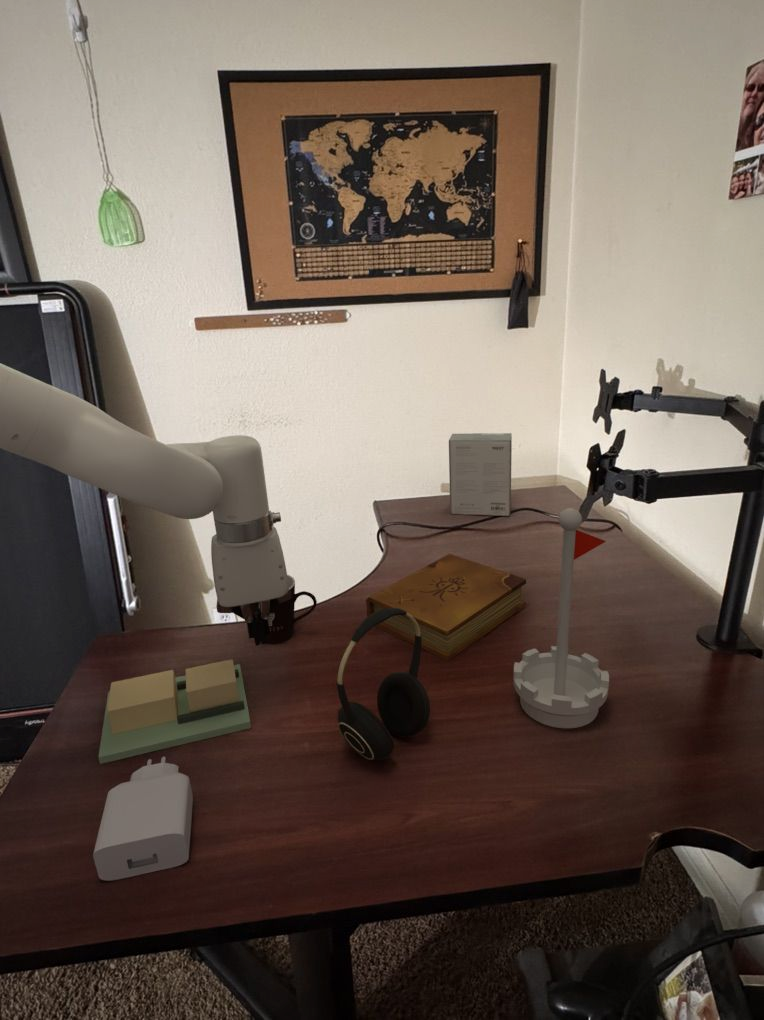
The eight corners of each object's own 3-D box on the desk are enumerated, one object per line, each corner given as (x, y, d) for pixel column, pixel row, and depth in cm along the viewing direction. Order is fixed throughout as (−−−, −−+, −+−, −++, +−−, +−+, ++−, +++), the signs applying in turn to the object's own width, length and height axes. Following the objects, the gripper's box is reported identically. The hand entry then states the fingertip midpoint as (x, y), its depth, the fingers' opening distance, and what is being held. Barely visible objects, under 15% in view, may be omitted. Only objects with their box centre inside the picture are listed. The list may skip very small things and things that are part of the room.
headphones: (445, 729, 87) (444, 601, 80) (368, 790, 77) (359, 651, 70) (400, 702, 93) (395, 581, 86) (323, 756, 83) (310, 624, 76)
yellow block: (190, 715, 90) (186, 692, 89) (189, 690, 96) (185, 668, 94) (239, 703, 92) (236, 681, 91) (236, 680, 98) (232, 658, 96)
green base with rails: (99, 764, 84) (91, 732, 82) (109, 697, 97) (102, 669, 95) (251, 728, 89) (246, 697, 87) (240, 669, 102) (236, 642, 101)
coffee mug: (241, 638, 111) (234, 588, 108) (275, 617, 118) (269, 569, 114) (289, 658, 105) (283, 605, 101) (323, 634, 111) (318, 584, 108)
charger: (196, 766, 82) (189, 864, 69) (122, 781, 81) (100, 883, 67) (191, 737, 81) (183, 831, 67) (115, 751, 79) (91, 850, 65)
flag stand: (532, 739, 84) (542, 533, 74) (500, 681, 96) (504, 497, 86) (623, 726, 86) (646, 522, 75) (581, 670, 98) (595, 488, 87)
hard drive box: (511, 506, 166) (513, 433, 159) (509, 517, 159) (512, 440, 152) (452, 504, 170) (452, 432, 163) (449, 514, 163) (448, 439, 156)
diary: (446, 578, 130) (446, 552, 127) (525, 606, 117) (526, 578, 115) (367, 622, 114) (365, 594, 112) (447, 661, 102) (447, 630, 100)
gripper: (292, 508, 92) (304, 617, 99) (186, 525, 88) (207, 637, 95) (301, 526, 85) (314, 642, 92) (188, 545, 81) (209, 665, 88)
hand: (259, 639), depth 93 cm, fingers closed
